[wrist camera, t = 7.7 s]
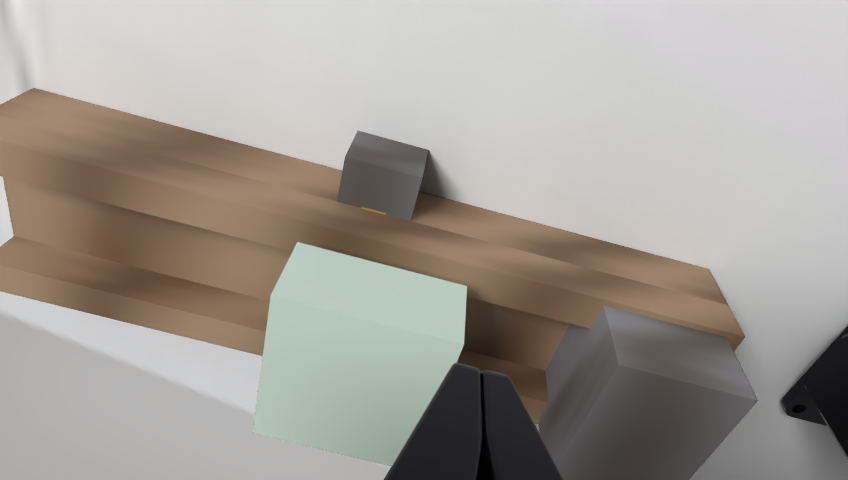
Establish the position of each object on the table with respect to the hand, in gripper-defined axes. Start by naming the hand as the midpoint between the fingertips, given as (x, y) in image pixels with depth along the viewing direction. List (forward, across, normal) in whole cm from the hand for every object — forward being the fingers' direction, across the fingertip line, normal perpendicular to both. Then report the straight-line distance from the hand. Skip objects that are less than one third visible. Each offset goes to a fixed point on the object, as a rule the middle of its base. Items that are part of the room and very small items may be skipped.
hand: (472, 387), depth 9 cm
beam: (+12, +3, +6) cm, 13 cm away
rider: (+9, +2, +6) cm, 11 cm away
